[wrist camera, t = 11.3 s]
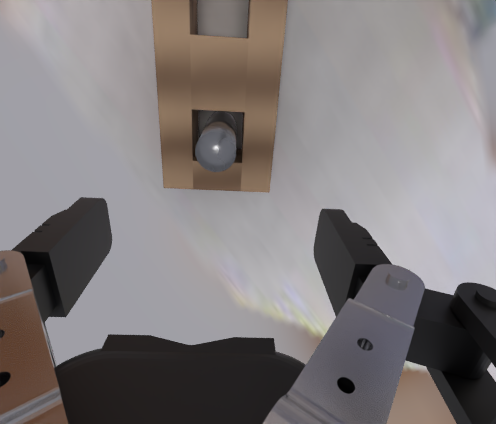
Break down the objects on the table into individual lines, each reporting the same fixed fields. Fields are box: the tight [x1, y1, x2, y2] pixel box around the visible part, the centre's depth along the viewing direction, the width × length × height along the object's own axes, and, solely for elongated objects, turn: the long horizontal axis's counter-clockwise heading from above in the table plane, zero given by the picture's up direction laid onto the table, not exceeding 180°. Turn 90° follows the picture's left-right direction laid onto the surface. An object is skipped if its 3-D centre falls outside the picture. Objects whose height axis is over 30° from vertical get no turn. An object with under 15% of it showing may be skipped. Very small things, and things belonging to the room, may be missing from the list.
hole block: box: [151, 0, 288, 192], centre depth 27 cm, size 20×10×5 cm, turn 177°
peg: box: [195, 111, 236, 172], centre depth 27 cm, size 3×3×10 cm
